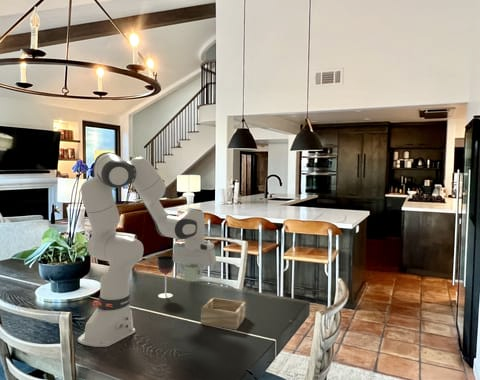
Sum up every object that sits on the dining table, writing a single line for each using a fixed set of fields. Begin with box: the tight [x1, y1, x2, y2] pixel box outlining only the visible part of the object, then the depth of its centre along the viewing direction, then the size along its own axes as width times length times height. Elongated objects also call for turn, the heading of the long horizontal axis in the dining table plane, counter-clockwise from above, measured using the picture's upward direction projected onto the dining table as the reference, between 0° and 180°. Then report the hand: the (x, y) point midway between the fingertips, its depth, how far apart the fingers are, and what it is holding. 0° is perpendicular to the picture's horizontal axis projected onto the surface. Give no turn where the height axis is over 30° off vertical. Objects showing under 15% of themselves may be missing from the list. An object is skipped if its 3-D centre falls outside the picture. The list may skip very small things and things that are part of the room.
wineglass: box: [157, 255, 175, 299], centre depth 194 cm, size 8×9×20 cm
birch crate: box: [200, 297, 247, 330], centre depth 164 cm, size 14×16×7 cm
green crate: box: [183, 264, 203, 283], centre depth 171 cm, size 9×5×6 cm, turn 164°
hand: (193, 273), depth 171 cm, fingers closed on green crate, 5 cm apart
